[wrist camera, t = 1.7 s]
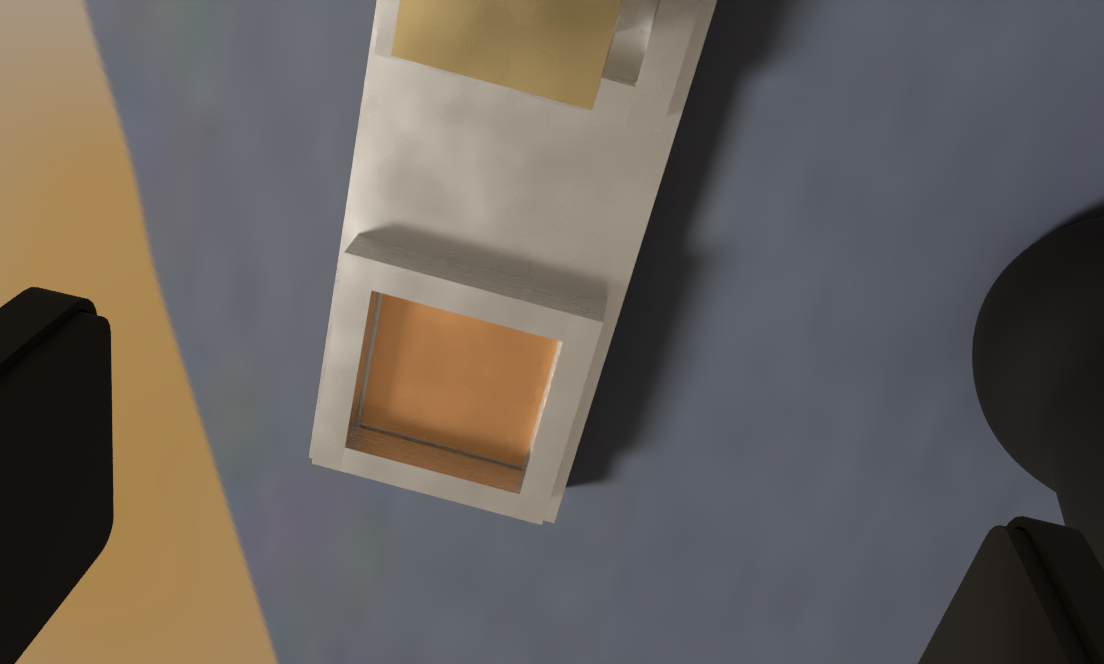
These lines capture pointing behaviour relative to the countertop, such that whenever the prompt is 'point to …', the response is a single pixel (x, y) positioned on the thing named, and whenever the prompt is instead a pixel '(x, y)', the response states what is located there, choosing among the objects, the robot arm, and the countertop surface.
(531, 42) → the square wooden post
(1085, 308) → the cola bottle
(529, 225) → the white boxy piece
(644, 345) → the countertop surface
